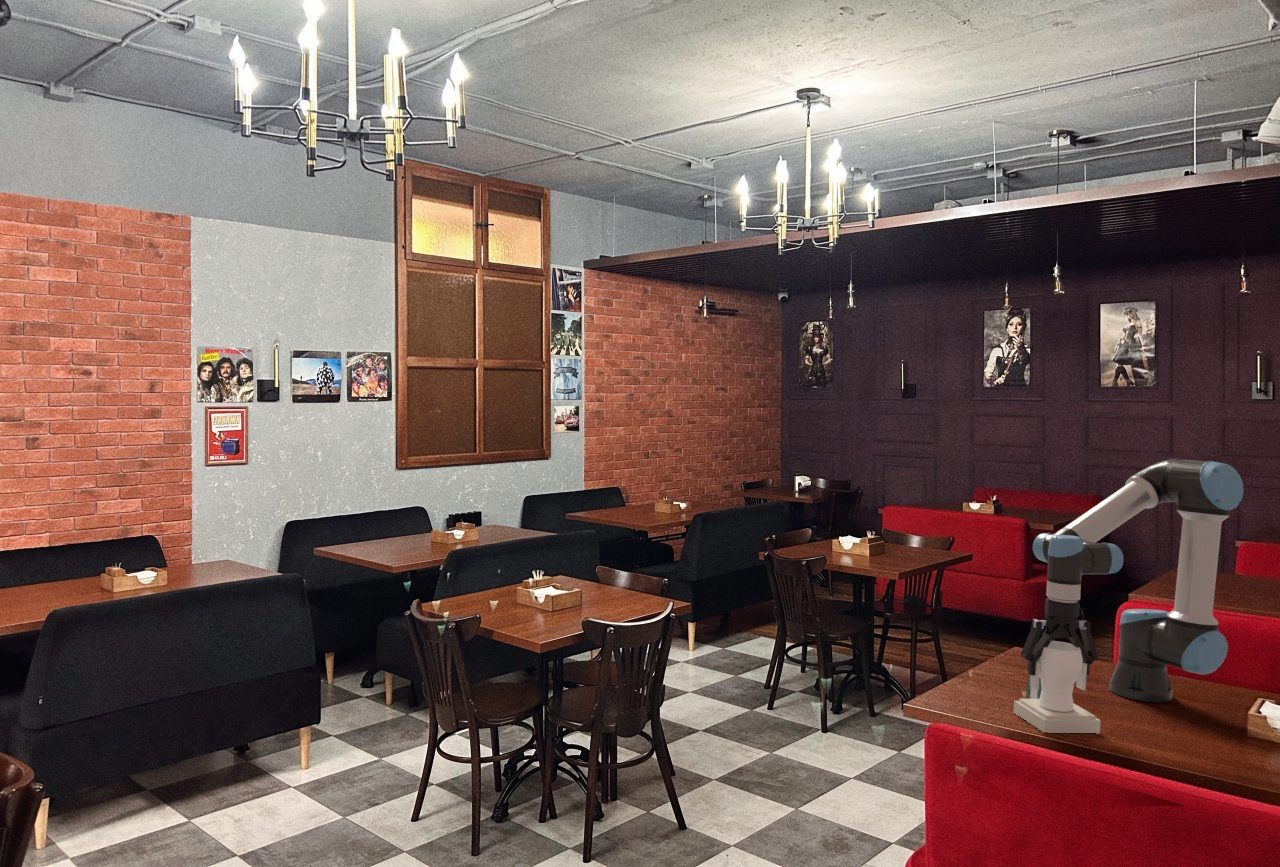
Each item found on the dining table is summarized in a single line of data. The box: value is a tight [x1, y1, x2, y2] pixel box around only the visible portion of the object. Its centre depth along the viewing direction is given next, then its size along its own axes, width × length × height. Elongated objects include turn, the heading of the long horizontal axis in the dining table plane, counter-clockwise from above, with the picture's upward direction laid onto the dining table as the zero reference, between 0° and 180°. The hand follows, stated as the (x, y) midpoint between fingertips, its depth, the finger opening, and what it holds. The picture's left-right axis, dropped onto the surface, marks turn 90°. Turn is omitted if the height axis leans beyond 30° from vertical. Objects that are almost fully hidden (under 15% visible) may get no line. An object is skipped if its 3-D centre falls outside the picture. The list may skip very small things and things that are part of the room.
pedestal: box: [1013, 698, 1102, 735], centre depth 225 cm, size 14×14×4 cm
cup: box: [1037, 640, 1083, 712], centre depth 225 cm, size 11×11×15 cm
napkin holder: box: [1025, 677, 1042, 699], centre depth 239 cm, size 10×4×7 cm, turn 116°
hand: (1057, 688), depth 225 cm, fingers open, 11 cm apart
